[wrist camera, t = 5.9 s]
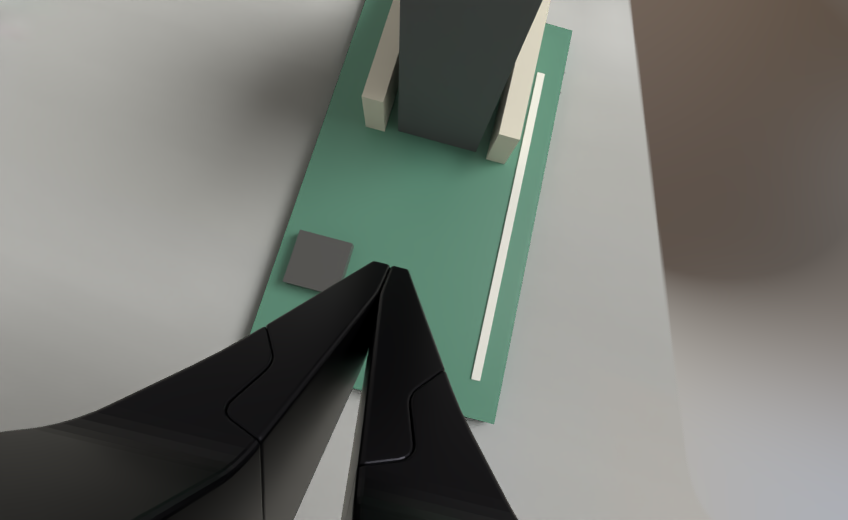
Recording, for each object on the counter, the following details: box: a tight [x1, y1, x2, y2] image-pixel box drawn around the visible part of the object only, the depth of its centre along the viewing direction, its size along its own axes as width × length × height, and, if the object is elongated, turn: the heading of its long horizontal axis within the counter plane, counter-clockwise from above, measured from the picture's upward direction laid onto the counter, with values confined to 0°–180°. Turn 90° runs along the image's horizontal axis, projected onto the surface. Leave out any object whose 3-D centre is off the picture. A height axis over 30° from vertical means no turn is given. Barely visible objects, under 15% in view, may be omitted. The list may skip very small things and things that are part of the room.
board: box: [250, 0, 572, 424], centre depth 21 cm, size 26×14×6 cm, turn 166°
